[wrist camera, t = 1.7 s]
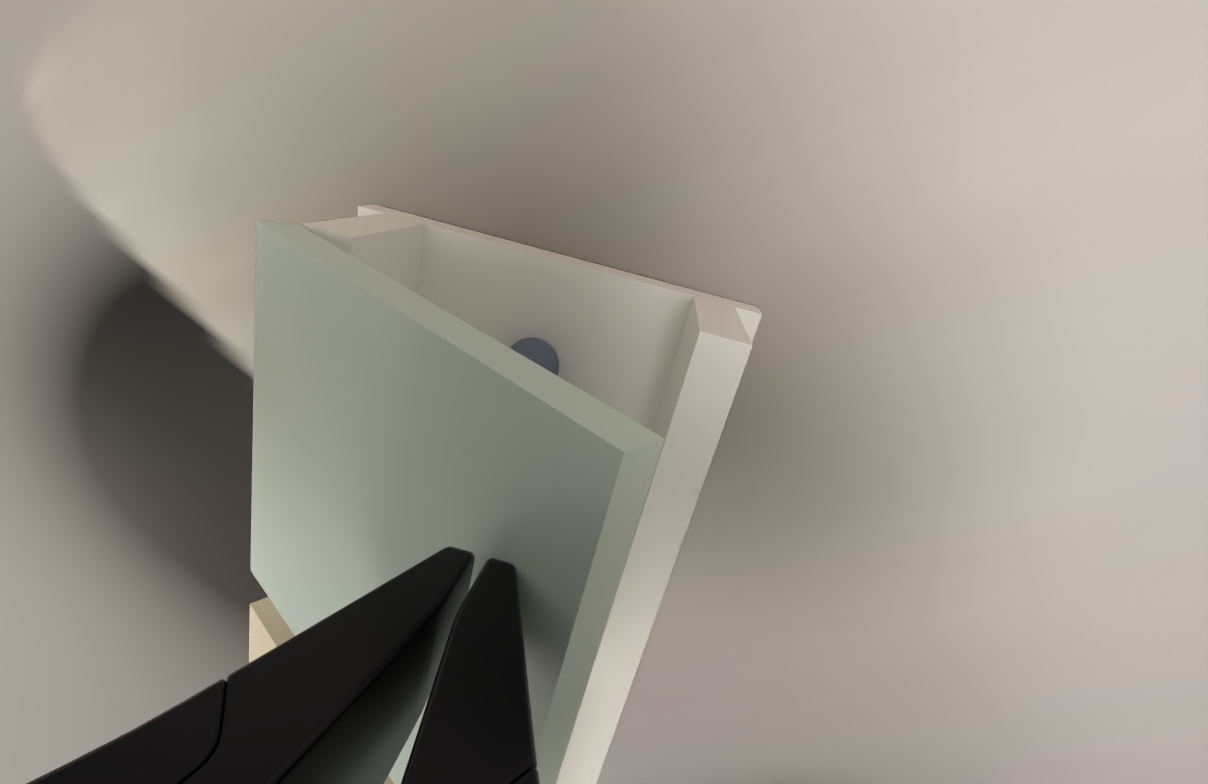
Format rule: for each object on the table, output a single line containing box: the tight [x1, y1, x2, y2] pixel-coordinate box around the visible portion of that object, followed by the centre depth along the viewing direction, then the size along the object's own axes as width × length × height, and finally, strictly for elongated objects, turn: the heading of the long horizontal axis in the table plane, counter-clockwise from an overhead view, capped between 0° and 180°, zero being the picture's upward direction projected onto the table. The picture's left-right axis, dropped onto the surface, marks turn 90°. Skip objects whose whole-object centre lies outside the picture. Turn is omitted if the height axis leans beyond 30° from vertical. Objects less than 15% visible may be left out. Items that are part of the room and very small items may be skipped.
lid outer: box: [251, 220, 664, 784], centre depth 11 cm, size 9×10×1 cm
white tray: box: [301, 204, 762, 784], centre depth 19 cm, size 20×12×5 cm, turn 166°
